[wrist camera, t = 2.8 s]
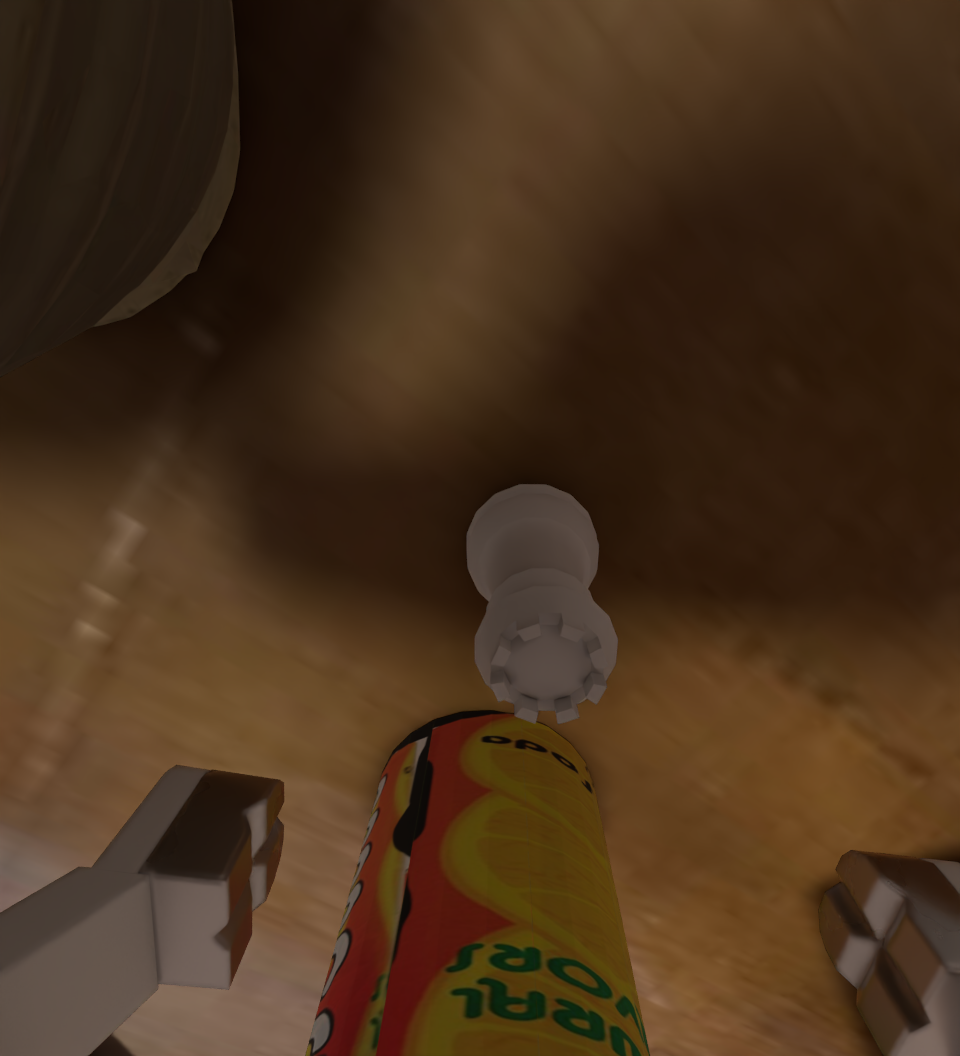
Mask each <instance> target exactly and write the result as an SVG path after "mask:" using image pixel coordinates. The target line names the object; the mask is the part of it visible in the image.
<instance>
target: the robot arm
mask: <svg viewBox="0 0 960 1056" xmlns="http://www.w3.org/2000/svg"><path fill="white" fill-rule="evenodd" d="M283 803H284V782H282V781H281V780H278V779H271V778H264V777H258V776H251V775H245V774H238V773H231V772H225V771H218V770H206V769H200V768H193V767H187V766H180V765H176V766H174V767H173V768H171V769H170V770H168V771H167V772H165V773H164V775H163V776H162V777H161V778H160V780H159V781H158V782H157V784H156V785H155V786H154V787H153V789H152V790H151V791H150V793H149V794H148V795H147V796H146V798H145V799H144V800H143V802H142V803H141V804H140V805H139V807H138V808H137V809H136V811H135V812H134V813H133V814H132V816H131V817H130V818H129V820H128V821H127V822H126V823H125V825H124V826H123V827H122V829H121V830H120V831H119V832H118V834H117V835H116V836H115V838H114V839H113V840H112V842H111V843H110V844H109V845H108V847H107V848H106V849H105V851H104V852H103V853H102V854H101V856H100V857H99V858H98V860H97V861H96V862H95V863H94V865H93V866H92V867H91V868H89V867H78V868H76V869H74V870H72V871H71V872H69V873H67V874H66V875H64V876H62V877H60V878H59V879H57V880H55V881H54V882H52V883H50V884H49V885H47V886H45V887H43V888H42V889H40V890H38V891H37V892H35V893H33V894H31V895H30V896H28V897H26V898H25V899H23V900H21V901H20V902H18V903H16V904H14V905H13V906H11V907H9V908H8V909H6V910H4V911H2V912H1V913H0V1056H88V1055H90V1054H91V1053H92V1052H93V1051H94V1050H95V1049H96V1048H97V1047H98V1046H99V1045H100V1044H101V1043H102V1042H103V1041H104V1040H105V1039H106V1038H107V1037H108V1036H109V1035H111V1034H112V1033H113V1032H114V1031H115V1030H116V1029H117V1028H118V1027H119V1026H120V1025H121V1024H122V1023H123V1022H124V1021H125V1020H126V1019H127V1018H128V1017H129V1016H131V1015H132V1014H133V1013H134V1012H135V1011H136V1010H137V1009H138V1008H139V1007H140V1006H141V1005H142V1004H143V1003H144V1002H145V1001H146V1000H147V999H148V998H149V997H150V996H152V995H153V994H154V993H155V992H156V991H157V990H158V984H167V985H179V986H191V987H203V988H214V989H226V990H229V988H230V986H231V983H232V981H233V978H234V976H235V974H236V971H237V969H238V966H239V964H240V962H241V959H242V957H243V955H244V952H245V950H246V947H247V945H248V943H249V940H250V938H251V935H252V912H253V911H254V910H255V909H256V908H257V907H259V906H260V905H261V904H262V903H264V902H265V901H266V899H267V897H268V894H269V892H270V889H271V887H272V884H273V881H274V879H275V875H276V872H277V868H278V864H279V861H280V857H281V851H282V845H283V835H284V825H283V824H282V822H281V821H280V820H279V819H278V817H277V816H278V814H279V812H280V809H281V807H282V805H283ZM836 871H837V874H838V876H839V878H840V881H841V882H839V883H838V884H836V885H835V886H833V887H832V888H830V889H829V890H827V891H826V892H825V894H824V896H823V899H822V902H821V904H820V907H819V909H818V910H819V926H820V933H821V936H822V939H823V943H824V946H825V949H826V951H827V953H828V955H829V957H830V959H831V960H832V962H833V964H834V966H835V968H836V970H837V971H838V972H839V973H841V974H842V975H843V976H844V977H845V978H846V979H847V980H848V981H849V982H850V983H851V984H852V985H853V986H855V987H856V988H857V1005H856V1007H857V1009H858V1011H859V1012H860V1014H861V1016H862V1018H863V1020H864V1022H865V1023H866V1025H867V1027H868V1029H869V1031H870V1032H871V1034H872V1036H873V1038H874V1040H875V1042H876V1043H877V1045H878V1047H879V1049H880V1051H881V1053H882V1054H883V1056H960V863H959V862H953V861H944V860H935V859H926V858H916V857H909V856H900V855H891V854H882V853H874V852H865V851H856V850H850V851H849V852H847V853H846V854H844V855H842V857H841V859H840V861H839V863H838V865H837V867H836Z"/></svg>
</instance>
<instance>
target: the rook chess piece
mask: <svg viewBox="0 0 960 1056" xmlns="http://www.w3.org/2000/svg"><path fill="white" fill-rule="evenodd" d="M598 554H599V544H598V541H597V535H596V532H595V529H594V526H593V524H592V521H591V518H590V516H589V513H588V512H587V511H586V510H585V509H584V508H583V507H582V506H581V505H580V504H579V503H578V502H577V500H576V499H575V498H574V497H573V496H572V495H571V494H568V493H566V492H563V491H561V490H559V489H556V488H554V487H551V486H549V485H547V484H519V485H516V486H514V487H511V488H509V489H506V490H504V491H501V492H498V493H496V494H494V495H493V496H492V497H491V498H490V499H489V500H488V501H487V502H486V503H485V504H484V505H483V506H482V507H481V508H480V509H478V510H477V511H476V513H475V516H474V518H473V520H472V523H471V525H470V527H469V530H468V532H467V568H468V570H469V573H470V575H471V577H472V579H473V581H474V584H475V586H476V588H477V590H478V592H479V593H480V594H481V595H482V596H483V597H484V598H485V599H486V600H488V601H489V603H488V605H487V608H486V614H485V616H484V618H483V620H482V623H481V625H480V627H479V629H478V631H477V633H476V635H475V663H476V665H477V667H478V669H479V671H480V673H481V676H482V678H483V680H484V682H485V684H486V685H488V686H489V687H490V688H491V689H492V690H493V691H494V693H495V695H496V698H497V700H498V702H500V701H502V700H505V701H508V702H510V703H513V704H514V713H515V716H516V717H518V718H521V719H524V720H526V721H529V722H532V723H534V724H535V723H536V720H537V716H538V710H539V711H556V717H557V722H558V724H561V723H564V722H567V721H570V720H574V719H577V718H579V713H578V708H577V704H579V703H581V702H583V701H584V700H586V699H588V700H590V701H592V702H593V703H595V704H596V705H597V703H598V702H599V700H600V698H601V696H602V695H603V693H604V691H605V690H606V688H607V685H606V680H607V678H608V677H609V675H610V673H611V672H612V670H613V668H614V666H615V665H616V656H617V645H618V638H617V636H616V633H615V631H614V628H613V625H612V623H611V620H610V617H609V616H608V615H607V614H606V613H605V612H604V611H603V610H602V609H601V608H600V607H599V606H598V605H597V604H596V603H595V602H594V601H593V598H592V596H591V593H590V591H589V590H588V588H589V586H590V584H591V582H592V580H593V579H594V577H595V575H596V572H597V567H598Z"/></svg>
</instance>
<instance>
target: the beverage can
mask: <svg viewBox="0 0 960 1056" xmlns="http://www.w3.org/2000/svg"><path fill="white" fill-rule="evenodd" d="M305 1056H650V1054H649V1049H648V1044H647V1039H646V1035H645V1030H644V1025H643V1020H642V1015H641V1010H640V1006H639V1001H638V996H637V991H636V986H635V981H634V977H633V972H632V967H631V962H630V957H629V952H628V948H627V943H626V938H625V933H624V928H623V923H622V919H621V914H620V909H619V904H618V899H617V894H616V890H615V885H614V880H613V875H612V870H611V865H610V861H609V856H608V851H607V846H606V841H605V836H604V832H603V827H602V822H601V817H600V812H599V807H598V803H597V798H596V793H595V788H594V784H593V781H592V779H591V776H590V773H589V771H588V768H587V765H586V763H585V761H584V760H583V759H582V758H581V756H580V755H579V754H578V752H577V751H576V750H575V749H574V747H573V746H572V745H571V743H569V742H568V741H567V740H565V739H564V738H563V737H561V736H560V735H559V734H557V733H556V732H555V731H553V730H552V729H551V728H549V727H548V726H545V725H543V724H540V723H538V722H536V723H535V724H534V723H532V722H529V721H526V720H524V719H521V718H518V717H516V716H515V714H509V713H503V712H497V711H474V712H461V713H457V714H454V715H450V716H447V717H443V718H440V719H436V720H433V721H432V722H430V723H428V724H426V725H425V726H423V727H421V728H419V729H418V730H416V731H414V732H412V733H411V734H410V735H409V736H408V737H407V738H406V739H405V740H404V741H403V742H402V743H401V744H400V745H399V746H398V747H397V748H396V749H395V750H394V751H393V753H392V755H391V757H390V759H389V760H388V762H387V764H386V766H385V768H384V770H383V773H382V776H381V780H380V784H379V787H378V791H377V795H376V798H375V802H374V806H373V809H372V813H371V817H370V820H369V824H368V828H367V831H366V835H365V839H364V842H363V846H362V850H361V853H360V857H359V861H358V864H357V868H356V872H355V875H354V879H353V883H352V886H351V890H350V894H349V897H348V901H347V905H346V908H345V912H344V916H343V919H342V923H341V927H340V930H339V934H338V938H337V941H336V945H335V949H334V952H333V956H332V960H331V963H330V967H329V971H328V974H327V978H326V982H325V985H324V989H323V993H322V996H321V1000H320V1004H319V1007H318V1011H317V1015H316V1018H315V1022H314V1026H313V1029H312V1033H311V1037H310V1040H309V1044H308V1048H307V1051H306V1055H305Z"/></svg>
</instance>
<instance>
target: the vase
mask: <svg viewBox="0 0 960 1056" xmlns="http://www.w3.org/2000/svg"><path fill="white" fill-rule="evenodd" d="M239 155H240V124H239V90H238V65H237V54H236V42H235V30H234V18H233V7H232V0H0V377H2V376H4V375H5V374H7V373H9V372H11V371H13V370H15V369H16V368H18V367H20V366H22V365H24V364H26V363H27V362H29V361H31V360H33V359H35V358H36V357H38V356H40V355H42V354H44V353H46V352H47V351H49V350H51V349H53V348H55V347H57V346H59V345H61V344H63V343H65V342H66V341H68V340H70V339H72V338H73V337H75V336H77V335H79V334H80V333H82V332H84V331H86V330H87V329H89V328H91V327H95V326H100V325H105V324H108V323H112V322H115V321H119V320H122V319H126V318H129V317H132V316H133V315H135V314H136V313H138V312H139V311H141V310H142V309H144V308H145V307H147V306H148V305H150V304H151V303H153V302H154V301H156V300H157V299H159V298H160V297H162V296H163V295H165V294H167V293H168V292H170V291H171V290H172V289H173V288H174V287H175V286H176V285H177V284H178V283H179V282H180V281H181V280H182V279H183V278H184V277H185V276H186V275H187V274H190V273H193V272H195V271H197V269H198V266H199V263H200V261H201V258H202V255H203V253H204V251H205V250H206V248H207V247H208V245H209V244H210V242H211V240H212V239H213V237H214V236H215V234H216V233H217V231H218V230H219V228H220V225H221V223H222V220H223V218H224V215H225V213H226V210H227V208H228V205H229V202H230V200H231V197H232V195H233V192H234V188H235V182H236V175H237V168H238V162H239Z"/></svg>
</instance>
